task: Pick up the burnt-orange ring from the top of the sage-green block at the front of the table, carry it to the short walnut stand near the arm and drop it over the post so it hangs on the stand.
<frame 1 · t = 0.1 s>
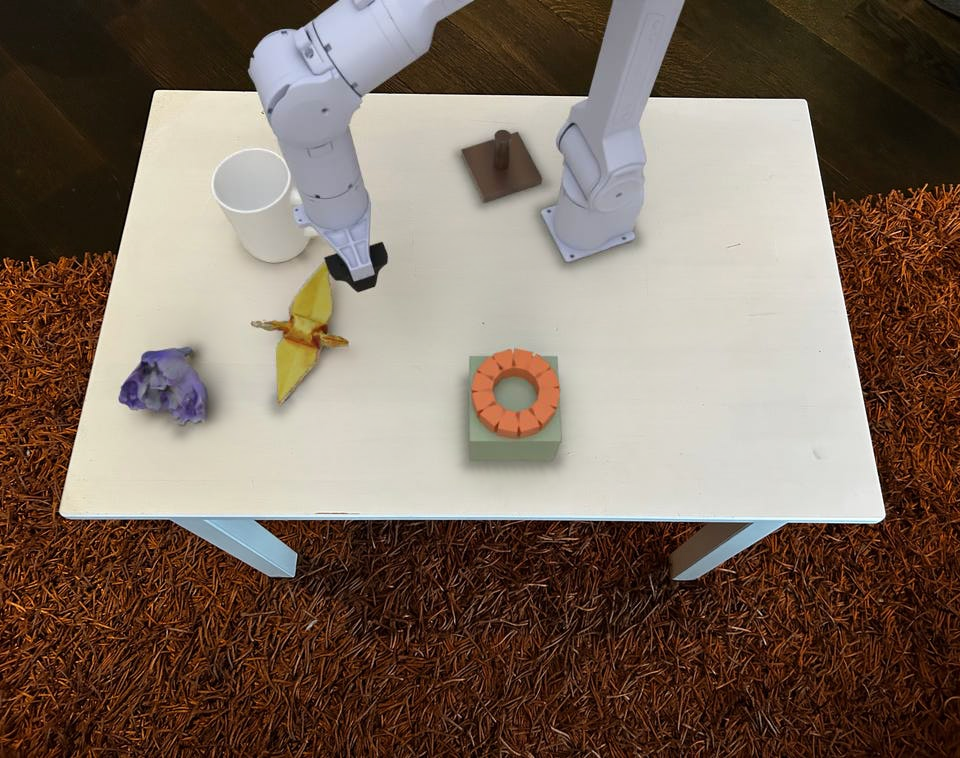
hand: (354, 256, 68), 10 cm above the table, tool pointing down, fingers open, 7 cm apart
mug: (292, 237, 81), on the table
origami crane: (308, 338, 76), on the table
block: (510, 421, 72), on the table
purple lumpy chunk: (183, 390, 73), on the table
ring: (514, 397, 65), point 8 cm above the table, touching block
stand: (500, 169, 84), on the table
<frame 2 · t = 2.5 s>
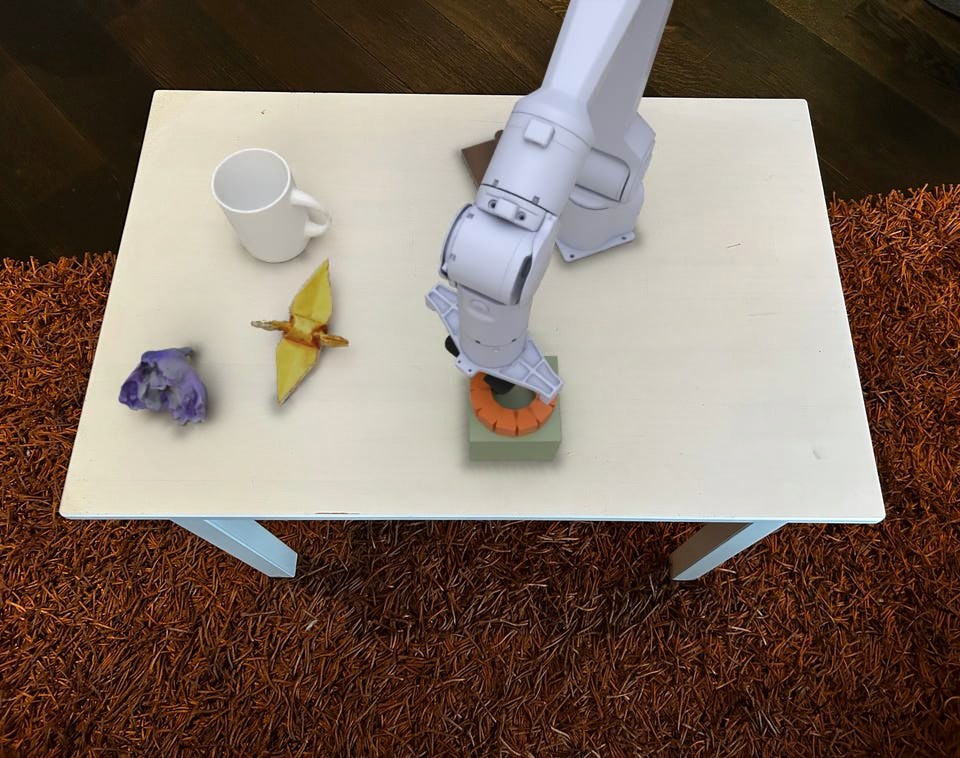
hand: (490, 376, 65), 8 cm above the table, tool pointing down, fingers closed on ring, 2 cm apart
ring: (512, 396, 65), point 8 cm above the table, touching block, gripper
everything else where it was.
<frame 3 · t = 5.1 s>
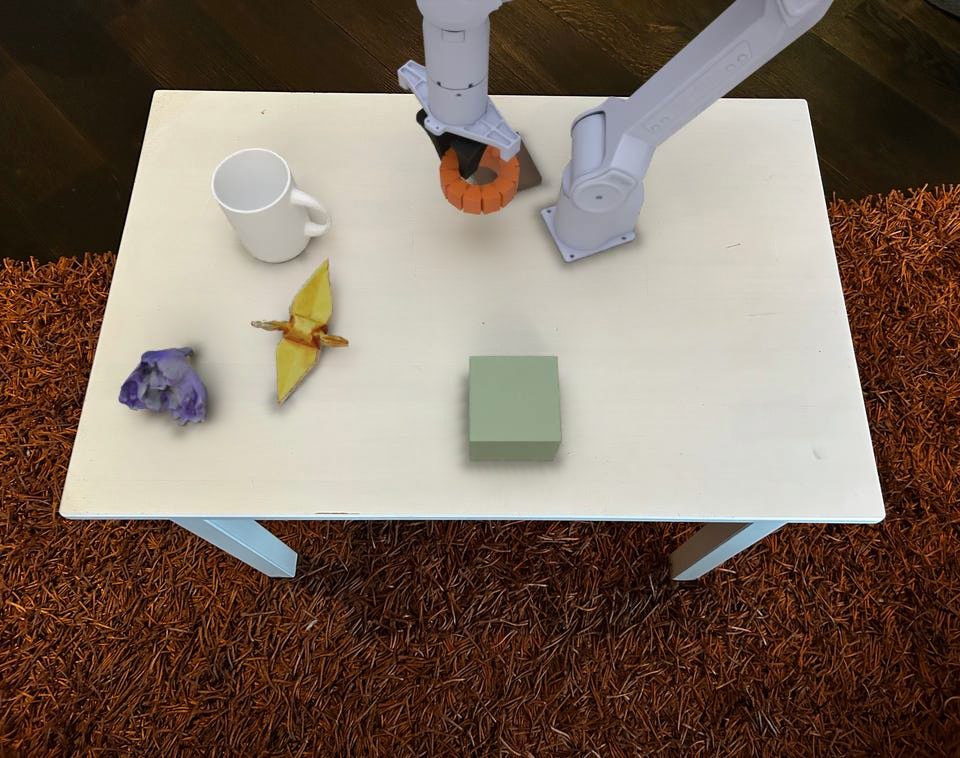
hand: (459, 165, 72), 10 cm above the table, tool pointing down, fingers closed on ring, 2 cm apart
ring: (479, 182, 71), point 10 cm above the table, touching gripper
everything else where it was.
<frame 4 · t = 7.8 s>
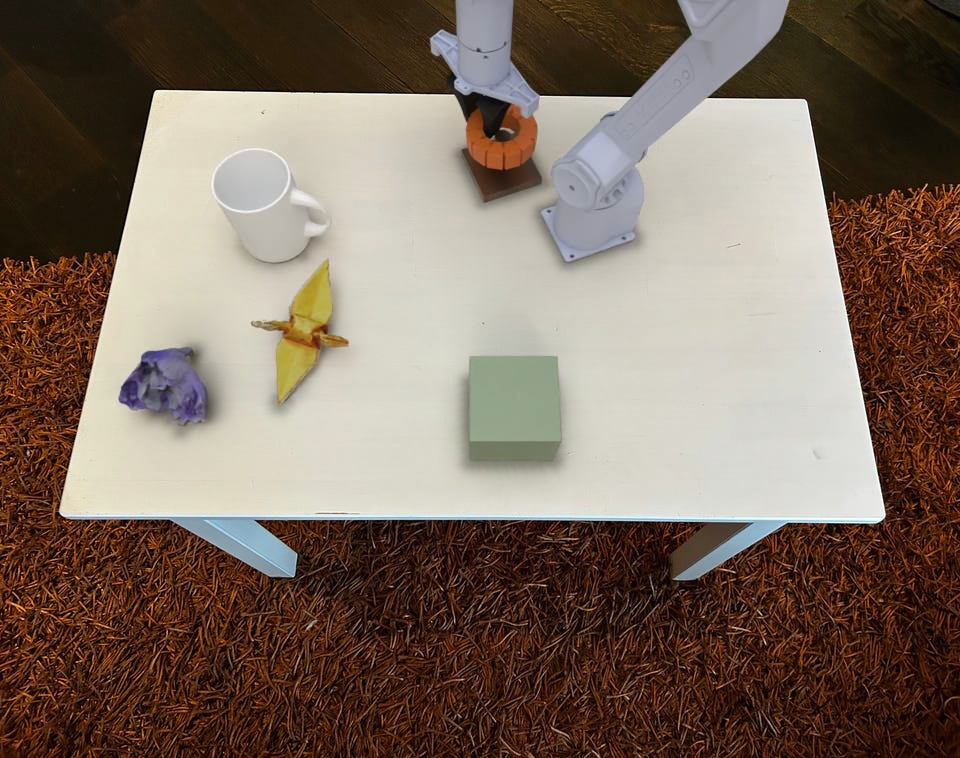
hand: (483, 126, 80), 5 cm above the table, tool pointing down, fingers closed on ring, 2 cm apart
ring: (501, 141, 80), point 5 cm above the table, touching gripper
everything else where it was.
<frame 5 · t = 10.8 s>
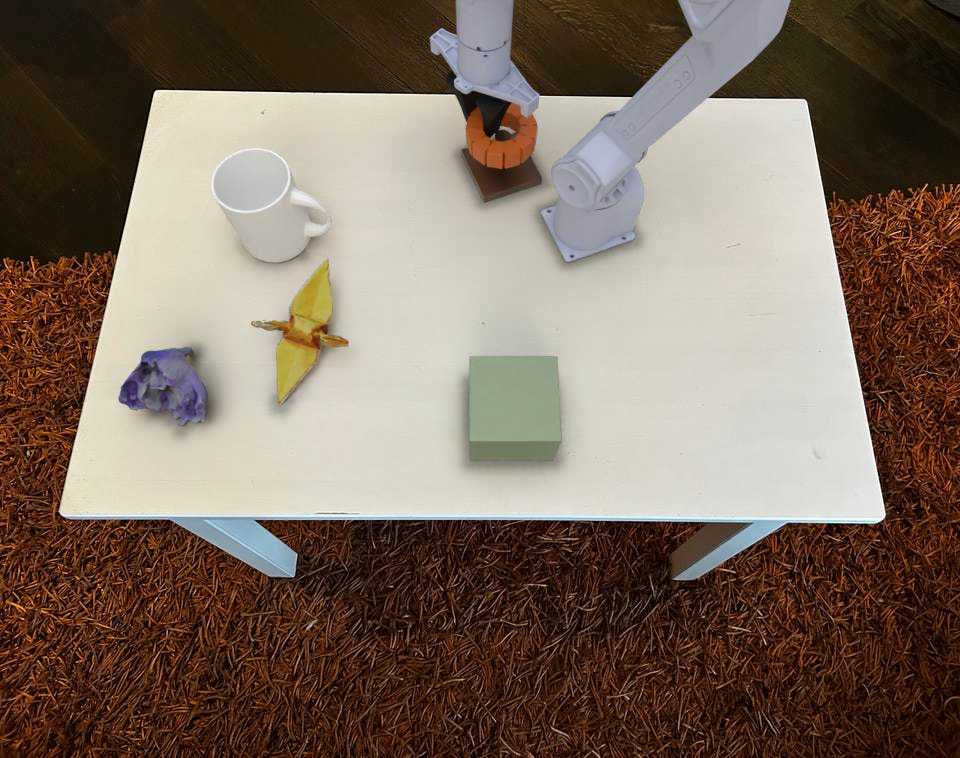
hand: (482, 125, 80), 6 cm above the table, tool pointing down, fingers closed on ring, 2 cm apart
ring: (501, 140, 80), point 5 cm above the table, touching gripper
everything else where it was.
when the fingers open (7 cm above the table, at t = 13.4 s): ring drops 6 cm, resting on stand.
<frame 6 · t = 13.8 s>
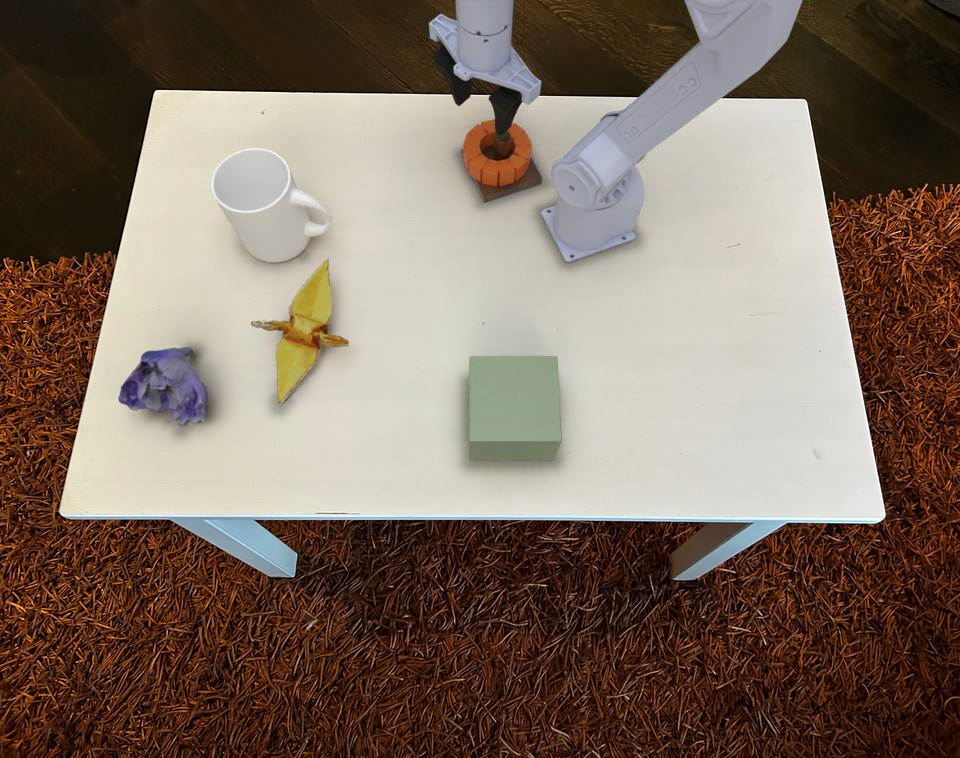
hand: (483, 114, 78), 7 cm above the table, tool pointing down, fingers open, 6 cm apart
ring: (496, 158, 83), point 1 cm above the table, touching stand
everything else where it was.
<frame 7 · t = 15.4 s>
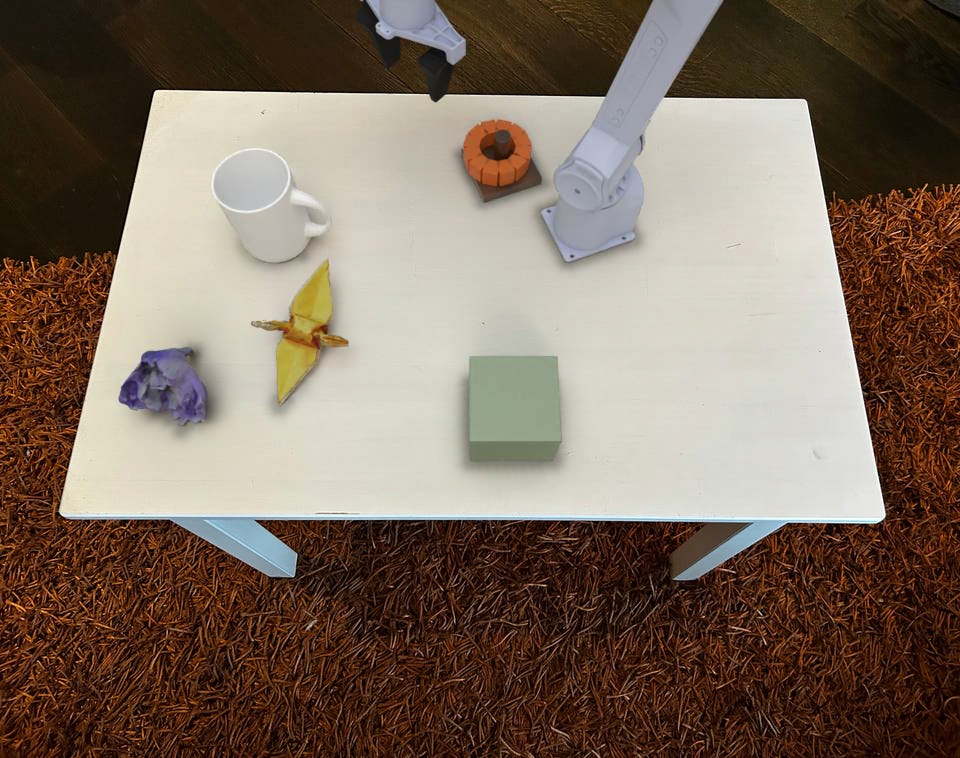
hand: (415, 79, 76), 10 cm above the table, tool pointing down, fingers open, 7 cm apart
nothing on the table moved.
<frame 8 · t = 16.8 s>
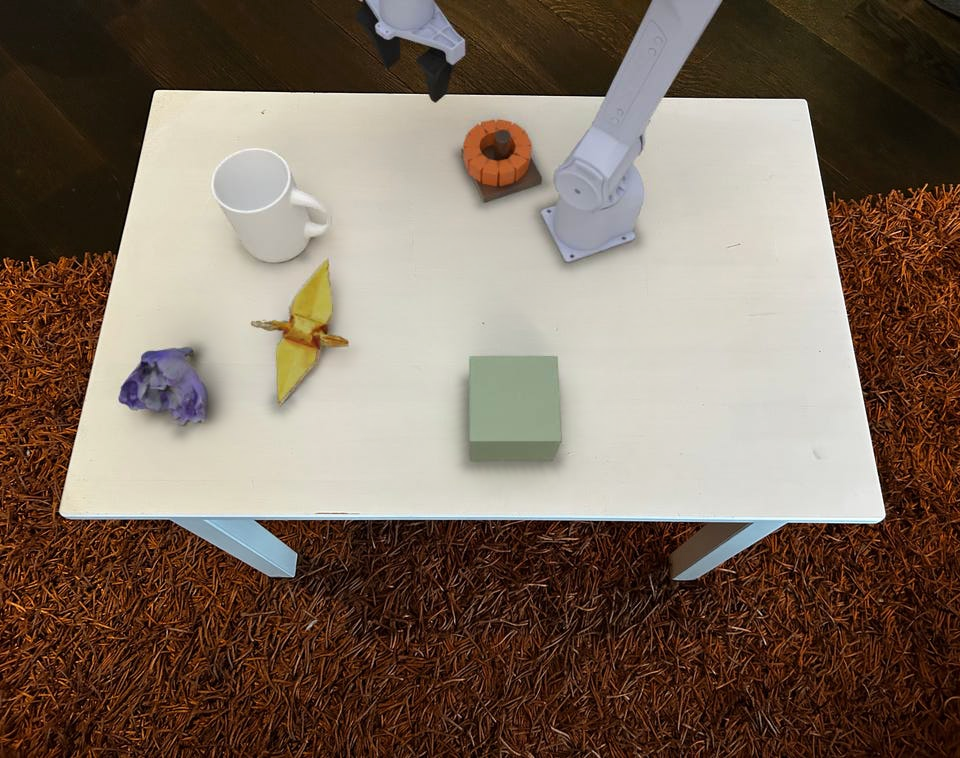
hand: (415, 79, 76), 10 cm above the table, tool pointing down, fingers open, 7 cm apart
nothing on the table moved.
at the end: ring 0.9 cm off-centre on the stand, point 1.2 cm above the stand's base; the gripper is holding nothing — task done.
